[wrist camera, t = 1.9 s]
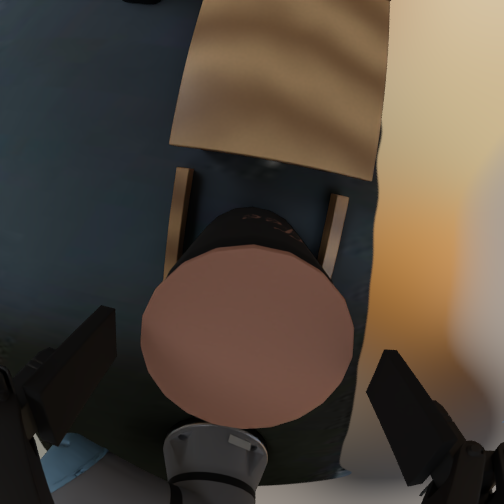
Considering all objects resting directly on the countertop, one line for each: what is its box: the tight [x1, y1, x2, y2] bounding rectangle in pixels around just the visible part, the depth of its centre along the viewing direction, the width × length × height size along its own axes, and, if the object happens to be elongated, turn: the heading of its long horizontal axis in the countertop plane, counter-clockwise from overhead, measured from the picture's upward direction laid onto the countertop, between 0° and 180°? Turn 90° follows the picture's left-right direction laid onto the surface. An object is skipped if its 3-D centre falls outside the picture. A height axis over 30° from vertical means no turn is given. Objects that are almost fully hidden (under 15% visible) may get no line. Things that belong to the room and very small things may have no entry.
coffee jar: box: [141, 207, 354, 429], centre depth 23 cm, size 11×11×18 cm
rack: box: [163, 0, 391, 281], centre depth 24 cm, size 34×16×12 cm, turn 170°
